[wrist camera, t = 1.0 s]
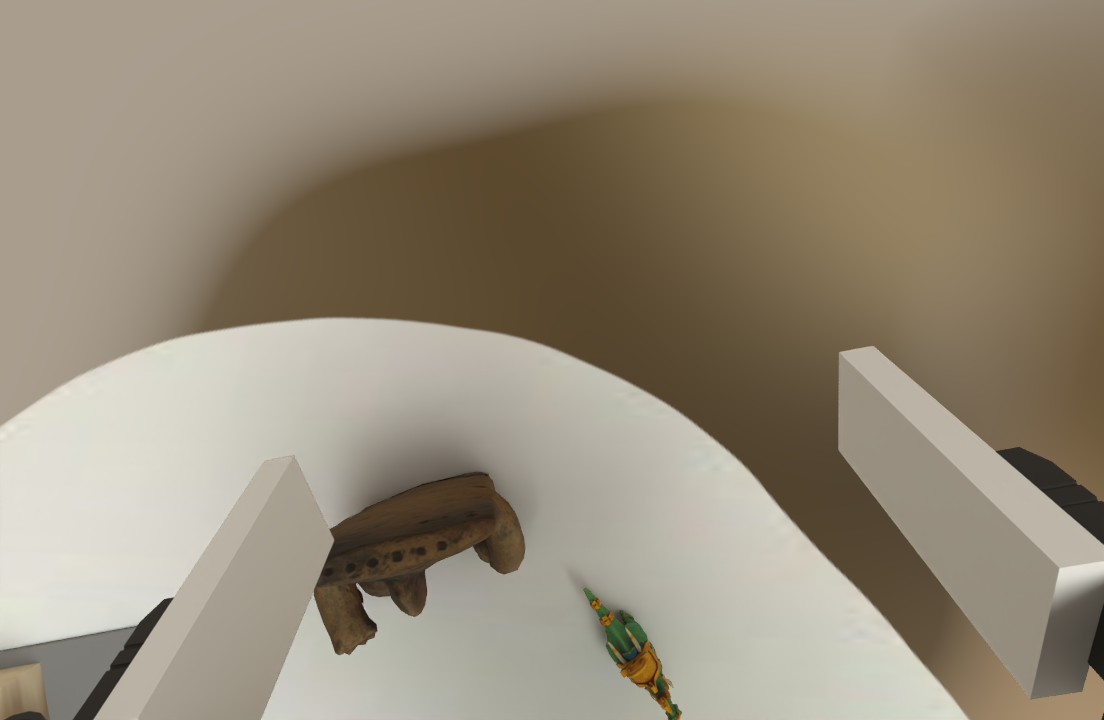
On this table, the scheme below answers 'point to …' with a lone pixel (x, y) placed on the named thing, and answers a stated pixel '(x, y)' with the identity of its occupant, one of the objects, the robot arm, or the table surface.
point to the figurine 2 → (635, 655)
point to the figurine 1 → (411, 550)
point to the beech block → (22, 691)
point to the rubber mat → (70, 667)
